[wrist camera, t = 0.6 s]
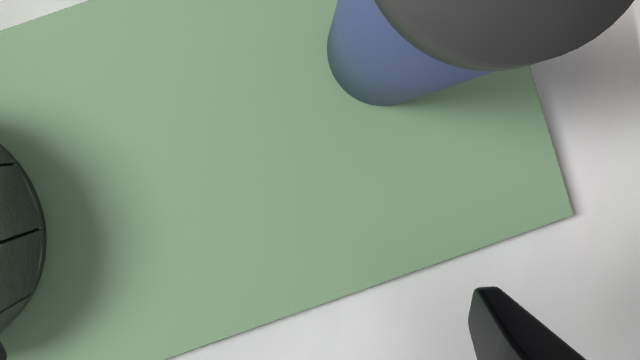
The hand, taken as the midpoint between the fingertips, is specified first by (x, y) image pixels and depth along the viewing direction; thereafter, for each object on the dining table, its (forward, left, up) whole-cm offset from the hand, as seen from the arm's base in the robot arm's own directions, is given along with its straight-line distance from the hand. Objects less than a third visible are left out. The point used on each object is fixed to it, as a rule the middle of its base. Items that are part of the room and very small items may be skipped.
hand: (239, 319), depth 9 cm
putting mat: (+3, +4, -13) cm, 14 cm away
